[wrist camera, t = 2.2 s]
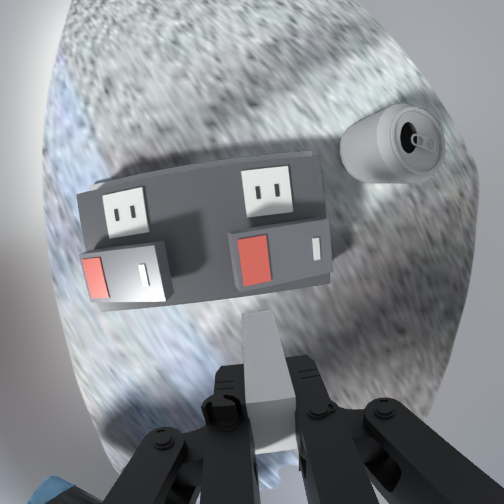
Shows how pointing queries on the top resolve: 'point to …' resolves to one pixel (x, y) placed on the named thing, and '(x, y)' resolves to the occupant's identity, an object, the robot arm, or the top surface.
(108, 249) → the block
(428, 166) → the can
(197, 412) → the top surface
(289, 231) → the rocker
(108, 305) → the power strip
